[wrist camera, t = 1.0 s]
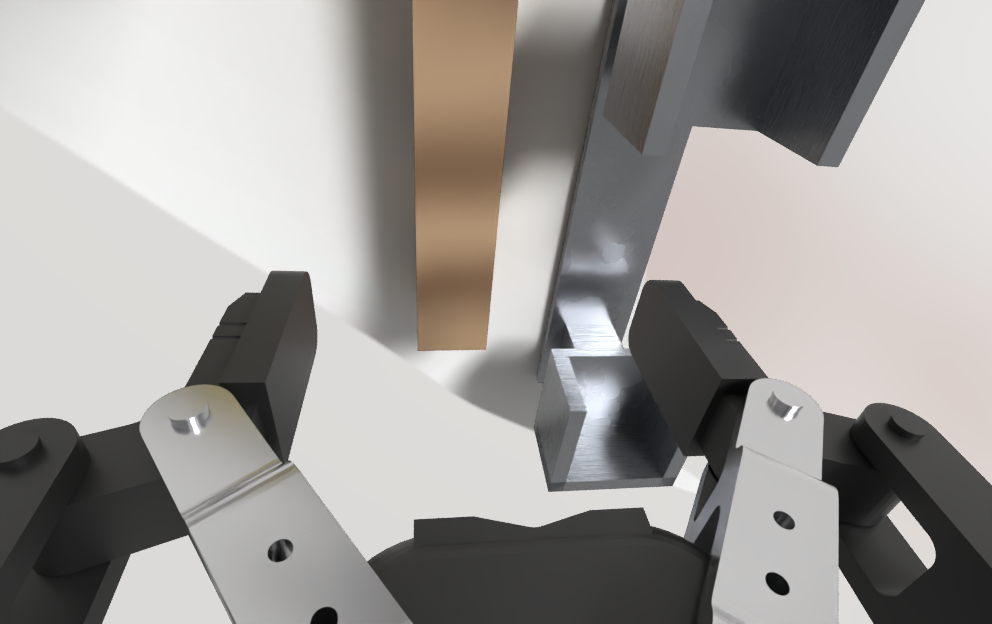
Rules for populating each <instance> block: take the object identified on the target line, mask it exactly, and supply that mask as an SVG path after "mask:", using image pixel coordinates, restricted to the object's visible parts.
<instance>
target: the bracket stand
mask: <svg viewBox="0 0 992 624" xmlns="http://www.w3.org/2000/svg"><path fill="white" fill-rule="evenodd" d="M924 1H925V0H614V1H613V6H612V11H611V16H610V21H609V26H608V30H607V35H606V40H605V45H604V50H603V55H602V60H601V65H600V69H599V74H598V79H597V84H596V89H595V94H594V99H593V104H592V108H591V113H590V118H589V123H588V128H587V133H586V138H585V143H584V147H583V152H582V157H581V162H580V167H579V172H578V177H577V182H576V186H575V191H574V196H573V201H572V206H571V211H570V216H569V221H568V225H567V230H566V235H565V240H564V245H563V250H562V255H561V260H560V264H559V269H558V274H557V279H556V284H555V289H554V294H553V299H552V303H551V308H550V313H549V318H548V323H547V328H546V333H545V338H544V342H543V347H542V352H541V357H540V362H539V367H538V372H537V380H538V383H544V384H543V388H542V393H541V397H540V402H539V407H538V411H537V416H536V420H535V425H534V430H535V435H536V439H537V443H538V447H539V452H540V457H541V461H542V465H543V470H544V474H545V478H546V483H547V487H548V491H549V492H552V491H574V490H595V489H616V488H617V489H618V488H639V487H660V486H672V485H673V483H674V481H675V479H676V478H677V476H678V474H679V472H680V470H681V468H682V466H683V464H684V462H685V460H686V458H687V456H683V454H682V452H681V450H680V448H679V446H678V444H677V443H676V441H675V439H674V437H673V435H672V433H671V431H670V429H669V427H668V425H667V423H666V421H665V419H664V417H663V415H662V413H661V411H660V409H659V407H658V405H657V403H656V402H655V400H654V398H653V396H652V394H651V392H650V390H649V388H648V386H647V384H646V382H645V380H644V378H643V376H642V374H641V372H640V370H639V368H638V366H637V364H636V362H635V360H634V359H633V357H632V355H631V352H630V349H624V348H623V346H622V344H621V343H622V340H623V336H624V333H625V330H626V327H627V324H628V321H629V318H630V315H631V312H632V309H633V306H634V303H635V300H636V297H637V294H638V290H639V287H640V284H641V281H642V278H643V275H644V272H645V269H646V266H647V263H648V260H649V257H650V254H651V250H652V248H653V244H654V241H655V238H656V235H657V232H658V229H659V226H660V223H661V220H662V217H663V214H664V211H665V208H666V205H667V201H668V199H669V195H670V192H671V189H672V186H673V183H674V180H675V177H676V174H677V171H678V168H679V165H680V162H681V158H682V156H683V153H684V149H685V146H686V143H687V140H688V137H689V134H690V131H691V128H692V126H698V127H713V128H726V129H740V130H754V131H759V132H760V133H762V134H764V135H765V136H767V137H769V138H771V139H772V140H774V141H776V142H777V143H779V144H781V145H783V146H784V147H786V148H788V149H789V150H791V151H793V152H795V153H796V154H798V155H800V156H802V157H803V158H805V159H807V160H808V161H810V162H812V163H813V164H815V165H817V166H831V167H838V166H839V164H840V163H841V161H842V159H843V157H844V155H845V153H846V151H847V149H848V147H849V145H850V143H851V141H852V139H853V137H854V135H855V133H856V132H857V130H858V128H859V126H860V124H861V122H862V120H863V118H864V116H865V114H866V113H867V111H868V109H869V107H870V104H871V103H872V101H873V99H874V97H875V95H876V93H877V91H878V90H879V87H880V86H881V84H882V82H883V80H884V78H885V76H886V74H887V72H888V70H889V68H890V66H891V64H892V63H893V60H894V59H895V57H896V55H897V53H898V51H899V49H900V47H901V45H902V43H903V41H904V40H905V38H906V36H907V34H908V32H909V30H910V28H911V26H912V24H913V22H914V20H915V18H916V17H917V14H918V13H919V11H920V9H921V7H922V5H923V3H924Z"/></svg>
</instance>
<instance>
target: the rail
mask: <svg viewBox="0 0 992 624" xmlns="http://www.w3.org/2000/svg"><path fill="white" fill-rule="evenodd" d="M517 8H518V0H412V15H413V79H414V144H415V209H416V273H417V338H418V351H435V350H486V345H487V334H488V323H489V312H490V301H491V290H492V280H493V269H494V258H495V247H496V236H497V225H498V214H499V204H500V193H501V182H502V171H503V160H504V149H505V139H506V128H507V117H508V106H509V95H510V84H511V73H512V63H513V52H514V41H515V30H516V19H517Z"/></svg>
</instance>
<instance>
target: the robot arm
mask: <svg viewBox="0 0 992 624" xmlns="http://www.w3.org/2000/svg"><path fill="white" fill-rule="evenodd" d="M628 340H629V349H630V352H631V355H632V357H633V359H634V360H635V362H636V364H637V366H638V368H639V370H640V372H641V374H642V376H643V378H644V380H645V382H646V384H647V386H648V388H649V390H650V392H651V394H652V396H653V398H654V400H655V402H656V403H657V405H658V407H659V409H660V411H661V413H662V415H663V417H664V419H665V421H666V423H667V425H668V427H669V429H670V431H671V433H672V435H673V437H674V439H675V441H676V443H677V444H678V446H679V448H680V450H681V452H682V454H683V456H705V457H706V459H707V460H708V463H707V465H706V467H705V469H704V471H703V473H702V477H701V480H700V484H699V487H698V491H697V494H696V498H695V501H694V505H693V509H692V512H691V515H690V519H689V522H688V526H687V529H686V533H685V535H684V538H683V537H680V536H678V535H676V534H673V533H671V532H669V531H666V530H663V529H659V528H656V527H652V526H650V524H649V521H648V519H647V516H646V514H645V511H644V509H643V508H626V509H625V508H624V509H607V510H590V511H587V512H584V513H580V514H577V515H574V516H571V517H568V518H565V519H562V520H560V521H556V522H553V523H550V524H547V525H544V526H541V527H535V528H533V527H526V526H521V525H515V524H510V523H505V522H499V521H494V520H489V519H483V518H479V517H456V518H437V519H418V520H414V538H412V539H409V540H406V541H404V542H401V543H398V544H396V545H394V546H392V547H390V548H387V549H386V550H384V551H382V552H381V553H379V554H377V555H376V556H374V557H372V558H371V559H370V560H369V561H366V560H365V558H364V557H363V556H362V554H361V553H360V552H359V550H358V549H357V548H356V546H355V545H354V544H353V542H352V541H351V539H350V538H349V537H348V535H347V534H346V533H345V531H344V530H343V529H342V527H341V526H340V524H339V523H338V522H337V521H336V519H335V518H334V516H333V515H332V514H331V512H330V511H329V510H328V509H327V507H326V506H325V504H324V503H323V501H322V500H321V499H320V497H319V496H318V495H317V493H316V492H315V491H314V489H313V488H312V487H311V485H310V484H309V482H308V481H307V480H306V478H305V477H304V476H303V474H302V473H301V472H300V470H299V469H298V468H297V467H296V466H295V464H293V463H292V462H291V461H288V458H289V454H290V450H291V446H292V442H293V439H294V435H295V431H296V427H297V423H298V419H299V415H300V412H301V408H302V404H303V400H304V396H305V392H306V389H307V385H308V381H309V377H310V373H311V369H312V365H313V362H314V358H315V354H316V348H317V324H316V318H315V310H314V303H313V295H312V288H311V281H310V276H309V274H308V272H304V271H271V272H270V274H269V276H268V278H267V280H266V283H265V285H264V287H263V289H262V291H261V293H245V294H244V295H242V296H241V297H240V298H238V299H237V300H236V301H235V302H233V303H232V304H231V305H229V306H228V308H227V310H226V312H225V314H224V315H223V317H222V319H221V321H220V326H218V327H217V328H216V330H215V332H214V334H213V339H211V340H210V341H209V343H208V345H207V347H206V349H205V351H204V353H203V355H202V356H201V358H200V360H199V362H198V364H197V366H196V368H195V369H194V372H193V373H192V375H191V377H190V379H189V381H188V382H187V384H186V386H185V387H184V388H181V389H179V390H175V391H173V392H171V393H169V394H167V395H165V396H163V397H162V398H160V399H159V400H157V401H156V402H154V403H153V404H152V405H151V406H150V407H149V408H148V409H147V411H146V412H145V413H144V415H143V417H142V419H141V421H139V422H137V423H133V424H130V425H126V426H122V427H118V428H114V429H109V430H106V431H102V432H97V433H93V434H89V435H85V436H79V434H78V432H77V431H76V429H75V427H74V426H73V425H72V424H70V423H69V422H67V421H64V420H61V419H56V418H40V419H33V420H28V421H23V422H20V423H17V424H14V425H11V426H8V427H6V428H3V429H1V430H0V624H102V622H103V619H104V617H105V615H106V613H107V610H108V608H109V605H110V603H111V600H112V598H113V595H114V593H115V590H116V588H117V586H118V583H119V581H120V578H121V576H122V573H123V571H124V569H125V566H126V564H127V562H128V559H129V557H130V554H132V553H135V552H138V551H141V550H144V549H147V548H150V547H153V546H156V545H159V544H162V543H165V542H168V541H171V540H174V539H177V538H180V537H183V536H187V535H189V537H190V539H191V541H192V543H193V545H194V547H195V549H196V551H197V553H198V555H199V557H200V559H201V561H202V563H203V566H204V567H205V570H206V571H207V574H208V575H209V578H210V580H211V582H212V583H213V586H214V588H215V590H216V592H217V594H218V596H219V598H220V599H221V602H222V604H223V606H224V608H225V609H226V612H227V614H228V616H229V618H230V620H231V622H232V624H838V566H839V568H840V570H841V571H842V573H843V575H844V576H845V578H846V579H847V581H848V583H849V584H850V586H851V588H852V589H853V591H854V592H855V594H856V596H857V597H858V599H859V601H860V602H861V604H862V605H863V607H864V609H865V610H866V612H867V614H868V615H869V617H870V619H871V620H872V622H873V623H874V624H992V485H991V484H990V483H989V482H988V481H987V480H986V479H985V478H984V477H983V476H982V475H981V474H980V473H979V472H978V471H977V470H976V469H975V468H974V467H973V466H972V465H971V464H970V463H969V462H968V461H967V460H966V459H965V458H964V457H963V456H962V455H961V454H960V453H959V452H958V451H957V450H956V449H955V448H954V447H953V446H952V445H951V444H950V443H949V442H948V441H947V440H946V439H945V438H944V437H943V436H942V435H941V434H940V433H939V432H938V431H937V430H936V429H935V428H934V427H933V426H932V425H930V424H929V423H928V422H927V421H925V420H924V419H922V418H921V417H919V416H917V415H915V414H914V413H912V412H910V411H907V410H906V409H903V408H900V407H898V406H894V405H890V404H885V403H874V404H870V405H868V406H867V407H866V408H865V410H864V411H863V412H862V413H861V415H860V416H859V417H858V419H852V418H848V417H843V416H839V415H835V414H830V413H826V412H822V409H821V408H820V406H819V405H818V403H817V402H816V401H815V400H814V399H813V398H812V397H811V396H810V395H808V394H807V393H806V392H804V391H803V390H801V389H800V388H798V387H796V386H794V385H792V384H790V383H787V382H784V381H781V380H777V379H770V378H768V377H767V376H766V374H765V373H764V372H763V371H762V369H761V368H760V367H759V366H758V364H757V363H756V362H755V361H754V359H753V358H752V357H751V356H750V355H749V353H748V352H747V351H746V349H745V348H744V347H743V346H742V344H741V343H740V342H739V341H737V338H736V337H735V336H734V335H733V333H732V332H731V331H730V330H728V329H727V326H726V324H725V323H724V322H723V321H722V320H721V318H720V317H719V316H718V315H717V313H716V312H714V311H713V310H711V309H710V308H709V307H707V306H706V305H704V304H703V303H701V302H700V301H696V300H695V299H694V298H693V296H692V295H691V294H690V292H689V291H688V290H687V288H686V287H685V286H684V284H682V282H680V281H672V280H671V281H669V280H649V281H647V282H646V283H645V285H644V287H643V290H642V293H641V296H640V299H639V302H638V305H637V308H636V311H635V314H634V317H633V320H632V324H631V327H630V330H629V339H628ZM900 501H902V502H903V503H904V505H905V506H906V507H907V509H908V510H909V511H910V512H911V514H912V515H913V516H914V517H915V519H916V520H917V521H918V522H919V523H920V525H921V526H922V527H923V529H924V530H925V531H926V532H927V533H928V535H929V536H930V538H931V540H932V542H933V544H934V547H935V551H936V559H935V562H934V564H933V566H932V567H931V568H929V569H927V568H926V567H925V565H924V564H923V563H922V561H921V560H920V559H919V557H918V556H917V555H916V553H915V552H914V551H913V549H912V548H911V547H910V546H909V544H908V543H907V541H906V540H905V539H904V538H903V536H902V535H901V534H900V532H899V531H898V530H897V528H896V527H895V526H894V525H893V523H892V522H891V520H890V519H889V518H888V516H887V514H888V513H889V512H890V511H891V510H892V509H893V508H894V507H895V506H896V505H897V504H898V503H899V502H900Z"/></svg>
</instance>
